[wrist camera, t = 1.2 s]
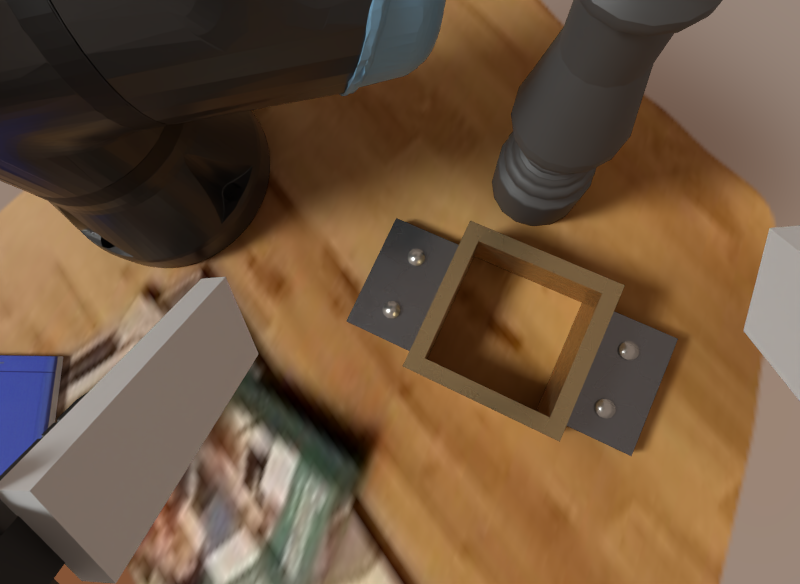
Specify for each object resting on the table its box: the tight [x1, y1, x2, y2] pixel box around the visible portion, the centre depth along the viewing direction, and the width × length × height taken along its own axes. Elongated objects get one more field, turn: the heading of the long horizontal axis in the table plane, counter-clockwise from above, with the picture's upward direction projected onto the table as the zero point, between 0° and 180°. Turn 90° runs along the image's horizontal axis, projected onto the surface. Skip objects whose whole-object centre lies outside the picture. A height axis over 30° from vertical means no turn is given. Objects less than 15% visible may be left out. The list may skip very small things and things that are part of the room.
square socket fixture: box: [347, 218, 678, 456], centre depth 30 cm, size 20×10×4 cm, turn 65°
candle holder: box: [492, 0, 722, 226], centre depth 21 cm, size 6×6×25 cm
